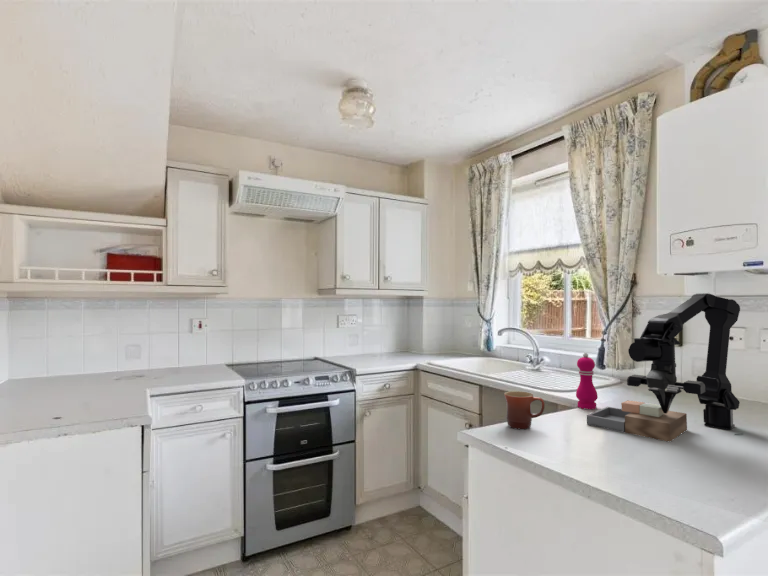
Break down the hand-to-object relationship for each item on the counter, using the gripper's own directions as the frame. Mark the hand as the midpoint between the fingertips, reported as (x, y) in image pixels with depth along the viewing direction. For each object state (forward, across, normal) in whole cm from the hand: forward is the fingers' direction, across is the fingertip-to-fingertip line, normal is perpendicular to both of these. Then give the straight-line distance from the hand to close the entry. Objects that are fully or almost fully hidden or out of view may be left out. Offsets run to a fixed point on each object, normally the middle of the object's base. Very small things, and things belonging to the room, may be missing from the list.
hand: (665, 413), depth 126 cm
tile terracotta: (+1, -9, 0) cm, 9 cm away
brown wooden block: (+6, -3, 0) cm, 6 cm away
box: (+6, -14, 0) cm, 15 cm away
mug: (+6, -32, -25) cm, 41 cm away
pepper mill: (+6, -29, +14) cm, 33 cm away
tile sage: (+1, -4, 0) cm, 4 cm away
